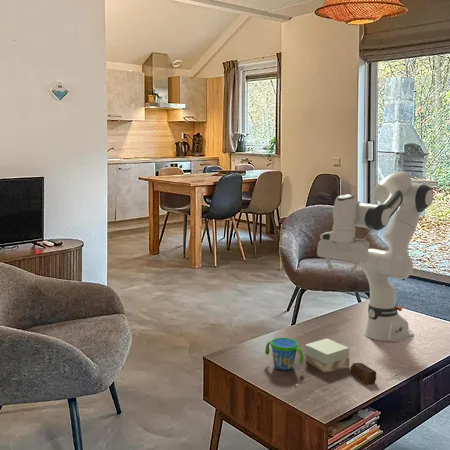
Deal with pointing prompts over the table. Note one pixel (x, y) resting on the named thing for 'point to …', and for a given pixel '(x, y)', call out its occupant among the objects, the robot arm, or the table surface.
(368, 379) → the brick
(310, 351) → the upper slab
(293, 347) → the snack cup
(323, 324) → the table surface
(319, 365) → the lower slab
